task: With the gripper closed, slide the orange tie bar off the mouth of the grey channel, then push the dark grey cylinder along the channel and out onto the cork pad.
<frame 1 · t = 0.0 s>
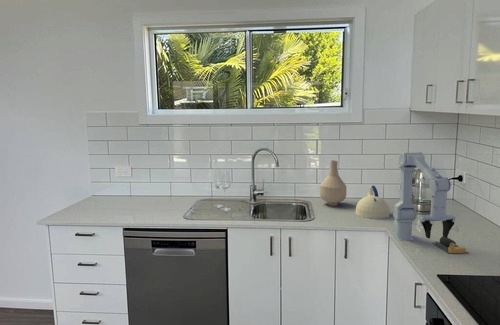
hand: (436, 237, 161), 10 cm above the countertop, tool pointing down, fingers open, 7 cm apart
kettle: (372, 214, 234), on the countertop
vase: (332, 204, 258), on the countertop
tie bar: (456, 249, 170), point 2 cm above the countertop, slide at 0.0 cm
dark grey cylinder: (447, 246, 177), resting on board
board: (453, 251, 172), on the countertop
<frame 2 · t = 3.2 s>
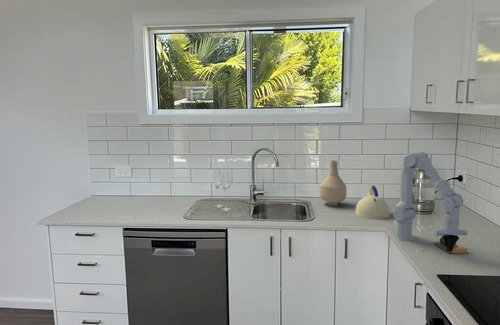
hand: (449, 250, 169), 1 cm above the countertop, tool pointing down, fingers closed
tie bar: (458, 249, 170), point 2 cm above the countertop, slide at 0.8 cm, touching gripper
everything else where it was.
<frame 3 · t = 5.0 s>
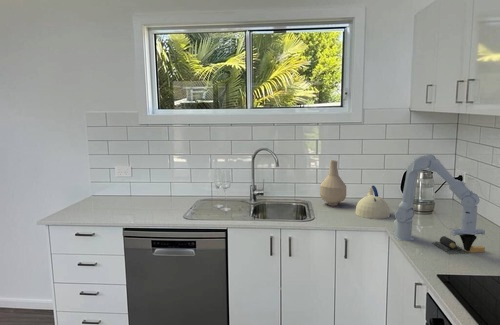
hand: (466, 250, 170), 1 cm above the countertop, tool pointing down, fingers closed
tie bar: (475, 248, 170), point 2 cm above the countertop, slide at 8.9 cm, touching gripper
everything else where it was.
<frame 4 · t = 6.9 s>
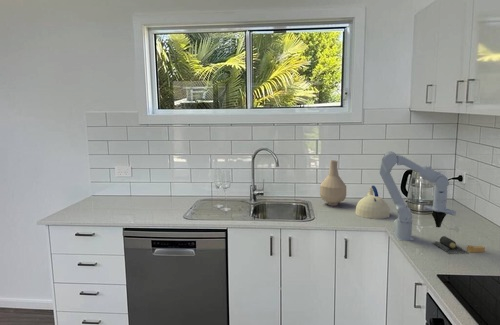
hand: (438, 226, 184), 7 cm above the countertop, tool pointing down, fingers closed
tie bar: (475, 248, 170), point 2 cm above the countertop, slide at 9.0 cm
everything else where it was.
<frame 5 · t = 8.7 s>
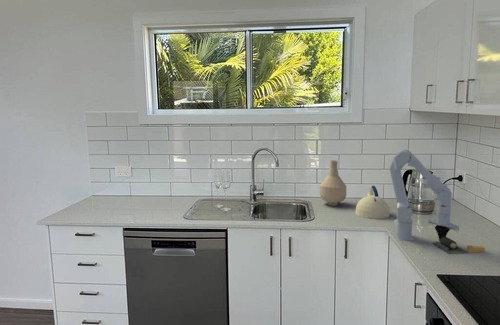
hand: (441, 241, 181), 1 cm above the countertop, tool pointing down, fingers closed
dark grey cylinder: (448, 246, 176), resting on board, touching gripper
everything else where it was.
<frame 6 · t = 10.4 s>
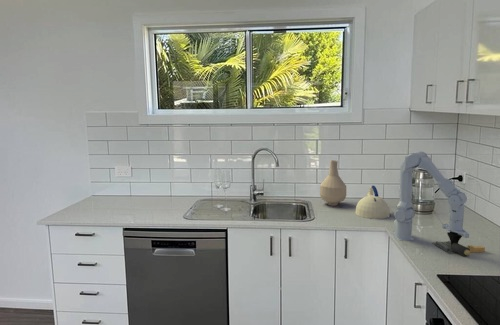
hand: (454, 248, 172), 2 cm above the countertop, tool pointing down, fingers closed, pressing on dark grey cylinder
dark grey cylinder: (460, 253, 168), resting on board, tilted 11°, touching gripper
everything else where it was.
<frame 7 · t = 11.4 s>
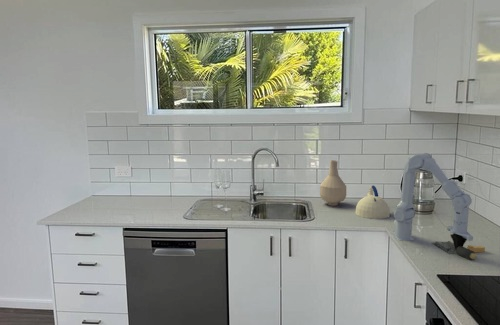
hand: (458, 250, 169), 1 cm above the countertop, tool pointing down, fingers closed
dark grey cylinder: (466, 257, 164), resting on board, tilted 13°, touching gripper
everything else where it was.
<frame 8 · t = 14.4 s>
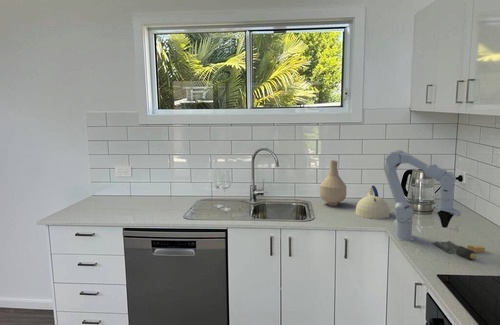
hand: (444, 227, 177), 9 cm above the countertop, tool pointing down, fingers closed
dark grey cylinder: (466, 257, 164), resting on board, tilted 13°
everything else where it was.
at the end: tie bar slide at 9.0 cm; dark grey cylinder inside the target area (1.6 cm from its centre), resting on board; dark grey cylinder touching board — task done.
